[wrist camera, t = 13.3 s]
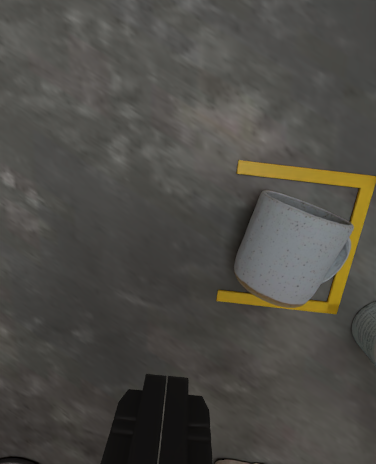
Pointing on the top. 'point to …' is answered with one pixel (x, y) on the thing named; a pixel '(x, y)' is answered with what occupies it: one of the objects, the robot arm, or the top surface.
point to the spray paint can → (366, 330)
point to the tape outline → (357, 219)
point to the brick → (231, 462)
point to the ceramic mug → (290, 249)
